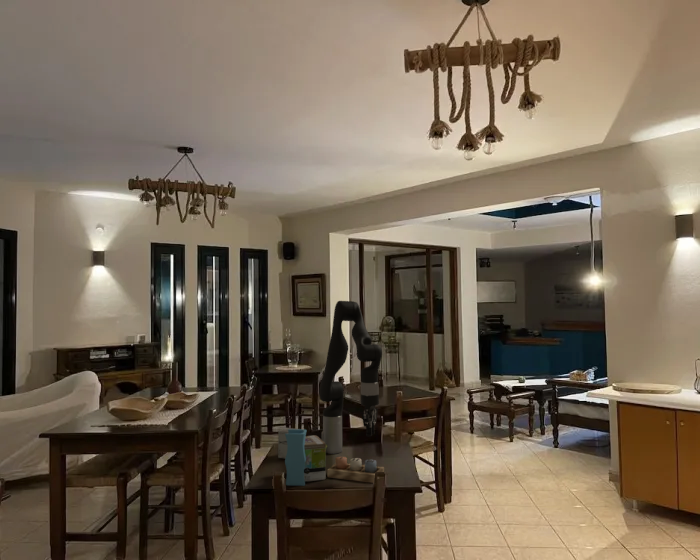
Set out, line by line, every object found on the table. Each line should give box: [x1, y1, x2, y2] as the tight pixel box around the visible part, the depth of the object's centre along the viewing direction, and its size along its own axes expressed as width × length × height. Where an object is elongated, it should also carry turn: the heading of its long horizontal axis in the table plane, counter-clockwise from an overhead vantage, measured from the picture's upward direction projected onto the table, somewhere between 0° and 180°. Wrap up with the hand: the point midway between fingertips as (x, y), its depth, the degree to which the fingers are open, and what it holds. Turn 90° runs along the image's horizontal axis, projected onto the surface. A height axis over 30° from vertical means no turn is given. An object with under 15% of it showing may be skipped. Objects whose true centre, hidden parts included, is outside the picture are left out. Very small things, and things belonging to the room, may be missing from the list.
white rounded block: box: [349, 457, 363, 471], centre depth 221 cm, size 5×5×4 cm
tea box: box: [304, 434, 327, 483], centre depth 222 cm, size 15×10×15 cm, turn 19°
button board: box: [326, 462, 385, 484], centre depth 221 cm, size 21×11×3 cm, turn 69°
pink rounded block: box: [334, 456, 348, 470], centre depth 223 cm, size 5×5×4 cm
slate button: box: [364, 459, 377, 473], centre depth 218 cm, size 5×5×4 cm
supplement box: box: [277, 427, 295, 459], centre depth 249 cm, size 7×7×13 cm
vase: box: [284, 428, 307, 487], centre depth 214 cm, size 8×8×20 cm
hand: (370, 435), depth 219 cm, fingers open, 3 cm apart
